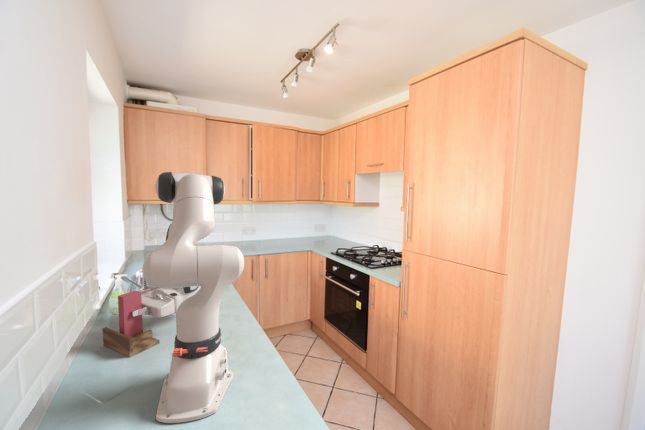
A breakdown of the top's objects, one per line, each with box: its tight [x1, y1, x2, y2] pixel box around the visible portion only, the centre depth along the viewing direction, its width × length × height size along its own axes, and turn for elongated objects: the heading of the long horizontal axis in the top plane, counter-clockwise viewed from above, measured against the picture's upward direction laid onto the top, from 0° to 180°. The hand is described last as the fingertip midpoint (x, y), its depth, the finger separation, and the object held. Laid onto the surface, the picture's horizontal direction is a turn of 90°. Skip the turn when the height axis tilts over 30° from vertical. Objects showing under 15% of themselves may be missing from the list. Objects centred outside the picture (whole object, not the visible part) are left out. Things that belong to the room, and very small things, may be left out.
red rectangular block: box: [117, 290, 144, 337], centre depth 99 cm, size 6×3×15 cm, turn 153°
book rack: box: [102, 326, 160, 358], centre depth 100 cm, size 10×16×6 cm, turn 63°
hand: (127, 312), depth 99 cm, fingers closed on red rectangular block, 3 cm apart
